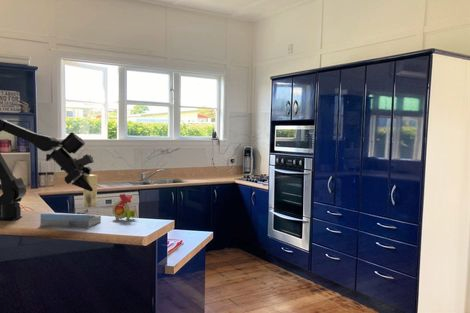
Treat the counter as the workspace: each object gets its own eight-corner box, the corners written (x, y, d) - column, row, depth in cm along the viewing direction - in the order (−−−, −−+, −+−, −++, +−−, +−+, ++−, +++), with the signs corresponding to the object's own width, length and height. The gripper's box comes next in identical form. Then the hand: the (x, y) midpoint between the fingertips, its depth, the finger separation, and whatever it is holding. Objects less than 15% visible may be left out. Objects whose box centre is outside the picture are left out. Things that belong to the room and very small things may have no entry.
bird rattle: (114, 226, 152) (134, 218, 151) (104, 200, 152) (124, 192, 151) (120, 223, 158) (140, 215, 157) (110, 198, 159) (130, 190, 158)
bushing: (81, 206, 151) (81, 175, 151) (86, 204, 156) (87, 174, 156) (93, 207, 151) (94, 176, 150) (98, 205, 156) (99, 174, 155)
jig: (40, 226, 140) (40, 213, 140) (56, 219, 151) (56, 208, 151) (88, 228, 139) (88, 215, 139) (100, 221, 150) (100, 210, 150)
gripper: (74, 148, 143) (103, 178, 145) (87, 147, 161) (113, 174, 163) (51, 168, 142) (81, 198, 144) (67, 165, 161) (93, 192, 163)
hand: (93, 189), depth 153 cm, fingers closed on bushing, 5 cm apart
